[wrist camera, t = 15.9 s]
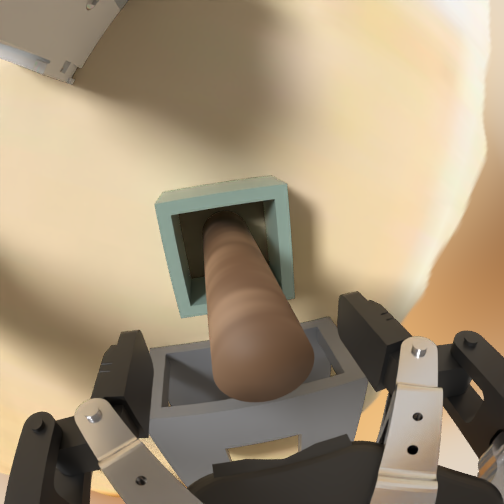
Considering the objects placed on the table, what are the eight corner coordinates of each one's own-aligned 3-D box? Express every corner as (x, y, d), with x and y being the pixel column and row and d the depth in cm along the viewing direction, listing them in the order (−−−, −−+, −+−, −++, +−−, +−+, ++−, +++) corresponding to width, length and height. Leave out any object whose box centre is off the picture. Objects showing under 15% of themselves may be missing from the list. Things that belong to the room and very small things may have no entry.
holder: (183, 289, 23) (181, 318, 19) (162, 191, 20) (154, 204, 16) (280, 273, 24) (294, 298, 20) (271, 175, 21) (287, 183, 17)
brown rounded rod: (206, 257, 22) (223, 409, 9) (199, 215, 21) (202, 339, 8) (249, 249, 22) (313, 389, 10) (244, 207, 21) (314, 317, 8)
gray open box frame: (193, 444, 30) (197, 499, 23) (150, 348, 24) (139, 419, 17) (322, 419, 32) (344, 469, 25) (329, 316, 26) (369, 375, 19)
